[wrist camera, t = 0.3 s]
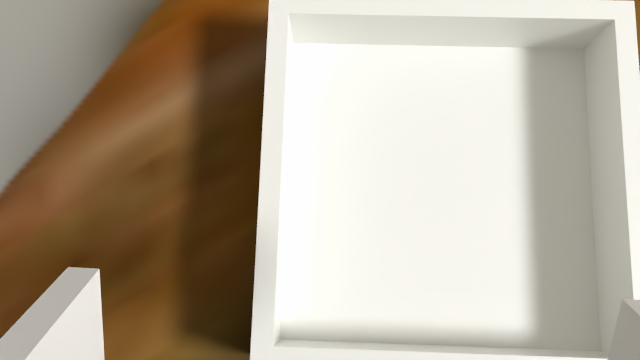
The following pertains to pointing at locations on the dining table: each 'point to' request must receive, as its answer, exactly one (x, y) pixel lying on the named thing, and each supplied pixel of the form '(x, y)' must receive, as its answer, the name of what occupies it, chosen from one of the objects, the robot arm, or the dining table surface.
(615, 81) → the bin
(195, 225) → the dining table surface
